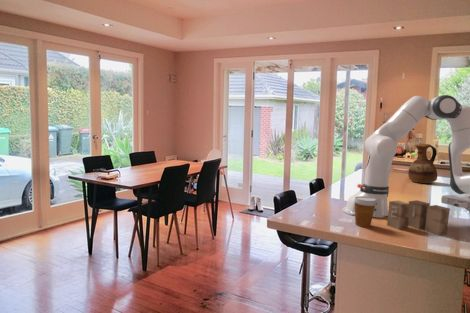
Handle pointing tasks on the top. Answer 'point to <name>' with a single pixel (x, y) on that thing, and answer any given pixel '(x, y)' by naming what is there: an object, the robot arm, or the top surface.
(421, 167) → the ceramic pitcher
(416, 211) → the walnut block numbered 1
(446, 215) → the plain walnut block
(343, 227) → the top surface
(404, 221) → the walnut block numbered 2
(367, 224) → the disposable coffee cup
